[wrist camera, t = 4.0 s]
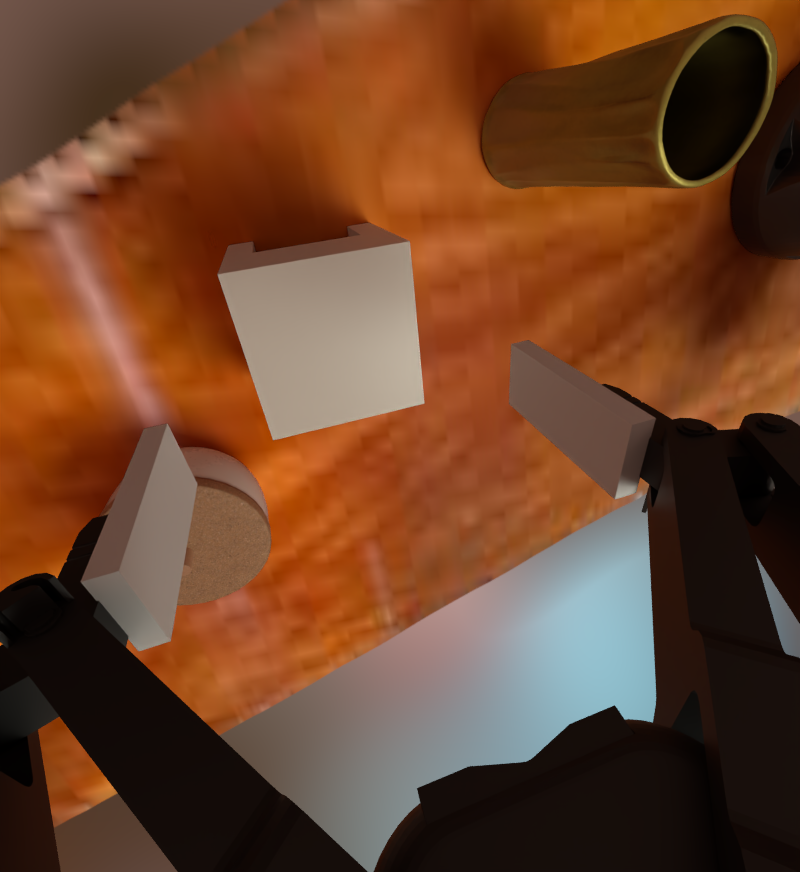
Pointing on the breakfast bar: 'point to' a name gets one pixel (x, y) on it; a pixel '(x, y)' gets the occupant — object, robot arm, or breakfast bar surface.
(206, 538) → the lidded jar
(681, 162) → the vase
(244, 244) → the notched white block
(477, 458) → the breakfast bar surface
